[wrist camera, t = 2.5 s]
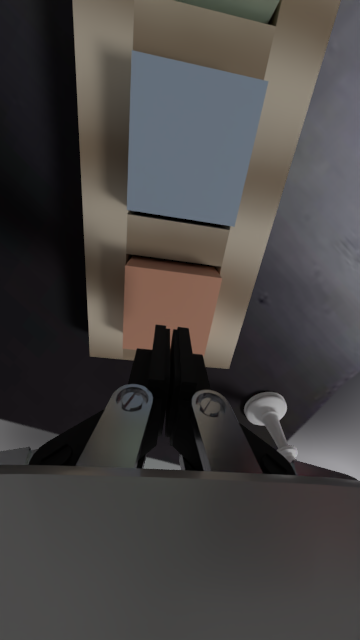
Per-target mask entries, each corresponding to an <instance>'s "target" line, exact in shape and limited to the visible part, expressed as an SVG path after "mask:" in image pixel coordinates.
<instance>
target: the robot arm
mask: <svg viewBox="0 0 360 640" xmlns="http://www.w3.org/2000/svg"><path fill="white" fill-rule="evenodd" d="M165 411H166V423H165V436H166V437H170V445H171V446H173V447H174V448H175V449H176V450H177V451H178V452H179V453H180V454H179V461H180V466H181V470H163V469H161V470H160V469H143V467H144V464H145V460H146V454H147V453H148V452H149V451H150V450H151V449H152V448H154V447H155V446H156V444H157V437H158V436H162V430H163V423H164V417H165ZM0 640H360V481H358V480H357V479H355V478H353V477H351V476H349V475H346V474H342V473H339V472H335V471H331V470H328V469H325V468H321V467H317V466H314V465H311V464H307V463H303V462H300V461H296V460H292V462H288V460H287V459H286V458H285V457H284V456H283V455H281V454H280V453H279V452H278V451H276V450H275V449H274V448H272V447H271V446H270V445H268V444H267V443H266V442H264V441H263V440H262V439H260V438H259V437H258V436H256V435H255V434H254V433H252V432H251V431H250V430H248V429H247V428H246V427H244V426H243V425H241V424H240V423H239V422H238V421H237V419H236V416H235V414H234V412H233V410H232V408H231V406H230V404H229V402H228V401H227V399H226V398H225V397H224V396H222V395H221V394H219V393H218V392H215V391H212V390H210V385H209V381H208V377H207V372H206V368H205V363H204V359H203V355H202V354H193V352H192V346H191V340H190V333H189V328H184V327H178V328H177V329H173V334H172V341H171V348H170V329H167V328H166V326H165V325H155V333H154V341H153V349H152V350H150V349H139V348H137V350H136V354H135V358H134V362H133V366H132V370H131V374H130V379H129V383H128V385H125V386H122V387H120V388H119V389H117V390H116V391H115V392H114V394H113V395H112V397H111V399H110V401H109V403H108V405H107V406H106V408H105V409H104V410H102V411H100V412H98V413H97V414H95V415H93V416H92V417H90V418H88V419H86V420H85V421H83V422H81V423H79V424H78V425H76V426H74V427H72V428H71V429H69V430H67V431H65V432H64V433H62V434H60V435H59V436H57V437H55V438H53V439H52V440H50V441H48V442H47V443H46V444H44V445H42V446H41V447H40V448H39V449H36V450H31V449H30V447H26V448H19V449H13V450H7V451H1V452H0Z"/></svg>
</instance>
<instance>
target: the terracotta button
mask: <svg viewBox="0 0 360 640" xmlns="http://www.w3.org/2000/svg"><path fill="white" fill-rule="evenodd" d="M221 282H222V277H221V276H220V274H219V273H218V272H217V270H216V269H215V268H214V267H210V266H203V265H196V264H188V263H181V262H174V261H166V260H159V259H152V258H144V257H137V256H132V257H131V259H130V260H129V261H128V262H127V264H126V265H125V284H124V316H123V349H132V350H137V348H139V349H150V350H152V349H153V341H154V333H155V325H165V326H166V328H167V329H170V348H171V341H172V334H173V329H177V328H178V327H184V328H189V333H190V340H191V346H192V352H193V354H202V355H203V356H204V355H205V351H206V347H207V342H208V338H209V334H210V329H211V325H212V321H213V317H214V312H215V308H216V304H217V300H218V295H219V291H220V287H221Z"/></svg>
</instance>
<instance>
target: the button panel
mask: <svg viewBox="0 0 360 640" xmlns="http://www.w3.org/2000/svg"><path fill="white" fill-rule="evenodd" d="M72 1H73V22H74V42H75V62H76V82H77V103H78V123H79V143H80V164H81V184H82V204H83V225H84V245H85V265H86V286H87V306H88V326H89V346H90V356H91V357H102V358H113V359H125V360H134V358H135V354H136V350H132V349H123V316H124V284H125V265H126V264H127V262H128V261H129V260H130V259H131V257H132V256H133V255H140V256H147V257H155V258H162V259H169V260H177V261H184V262H191V263H198V264H206V265H212V267H214V268H215V269H216V270H217V272H218V273H219V274H220V276H221V277H222V282H221V287H220V291H219V295H218V300H217V304H216V308H215V312H214V317H213V321H212V325H211V329H210V334H209V338H208V342H207V347H206V351H205V355H204V356H203V359H204V363H205V367H214V368H225V369H229V366H230V363H231V360H232V356H233V353H234V350H235V347H236V343H237V340H238V337H239V333H240V330H241V327H242V324H243V320H244V317H245V314H246V310H247V307H248V304H249V300H250V297H251V294H252V291H253V287H254V284H255V281H256V277H257V274H258V271H259V268H260V264H261V261H262V258H263V254H264V251H265V248H266V245H267V241H268V238H269V235H270V231H271V228H272V225H273V222H274V218H275V215H276V212H277V208H278V205H279V202H280V199H281V195H282V192H283V189H284V185H285V182H286V179H287V176H288V172H289V169H290V166H291V162H292V159H293V156H294V153H295V149H296V146H297V143H298V139H299V136H300V133H301V130H302V126H303V123H304V120H305V116H306V113H307V110H308V107H309V103H310V100H311V97H312V93H313V90H314V87H315V84H316V80H317V77H318V74H319V70H320V67H321V64H322V61H323V57H324V54H325V51H326V47H327V44H328V41H329V37H330V34H331V31H332V28H333V24H334V21H335V18H336V14H337V11H338V8H339V5H340V1H341V0H280V1H279V3H278V5H277V7H276V9H275V11H274V13H273V14H272V16H271V18H270V20H269V22H268V24H264V23H260V22H256V21H253V20H249V19H245V18H241V17H237V16H233V15H229V14H225V13H221V12H217V11H213V10H209V9H205V8H201V7H198V6H194V5H190V4H186V3H182V2H178V1H174V0H72ZM132 50H133V51H138V52H142V53H146V54H151V55H155V56H160V57H164V58H168V59H173V60H177V61H182V62H186V63H190V64H195V65H199V66H203V67H208V68H212V69H217V70H221V71H225V72H230V73H234V74H239V75H243V76H247V77H252V78H256V79H261V80H265V81H269V82H268V86H267V90H266V94H265V99H264V103H263V107H262V111H261V116H260V120H259V124H258V129H257V133H256V137H255V141H254V146H253V150H252V154H251V158H250V163H249V167H248V171H247V176H246V180H245V184H244V188H243V193H242V197H241V201H240V206H239V210H238V214H237V218H236V223H235V227H233V226H227V225H221V227H218V226H212V225H205V224H199V223H193V222H186V221H180V220H173V219H167V218H160V217H154V216H147V215H141V214H135V213H134V212H135V211H131V210H127V187H128V154H129V122H130V89H131V57H132Z"/></svg>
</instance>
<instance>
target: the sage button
mask: <svg viewBox="0 0 360 640" xmlns="http://www.w3.org/2000/svg"><path fill="white" fill-rule="evenodd" d="M174 1H178V2H182V3H186V4H190V5H194V6H198V7H201V8H205V9H209V10H213V11H217V12H221V13H225V14H229V15H233V16H237V17H241V18H245V19H249V20H253V21H256V22H260V23H264V24H268V22H269V20H270V18H271V16H272V14H273V13H274V11H275V9H276V7H277V5H278V3H279V1H280V0H174Z"/></svg>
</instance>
